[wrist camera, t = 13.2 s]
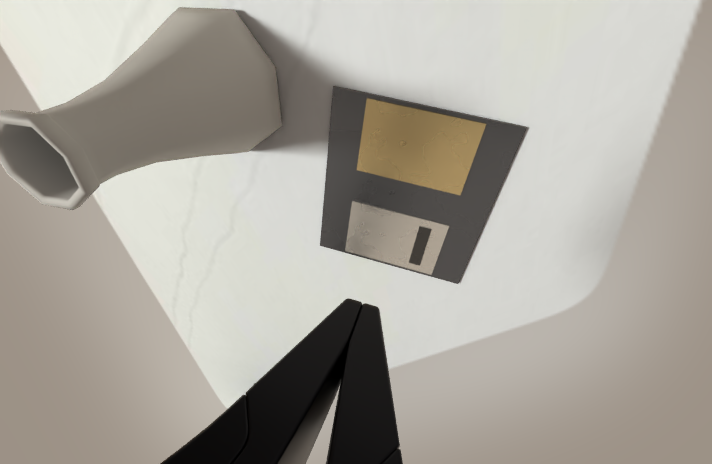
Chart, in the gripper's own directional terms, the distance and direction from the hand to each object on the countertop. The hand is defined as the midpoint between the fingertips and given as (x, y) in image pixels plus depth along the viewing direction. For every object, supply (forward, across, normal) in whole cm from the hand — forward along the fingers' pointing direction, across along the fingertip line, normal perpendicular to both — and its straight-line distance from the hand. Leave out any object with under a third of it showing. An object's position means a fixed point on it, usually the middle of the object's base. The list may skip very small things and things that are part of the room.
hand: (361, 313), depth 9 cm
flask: (+11, +11, -1) cm, 16 cm away
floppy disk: (+11, 0, +3) cm, 11 cm away
